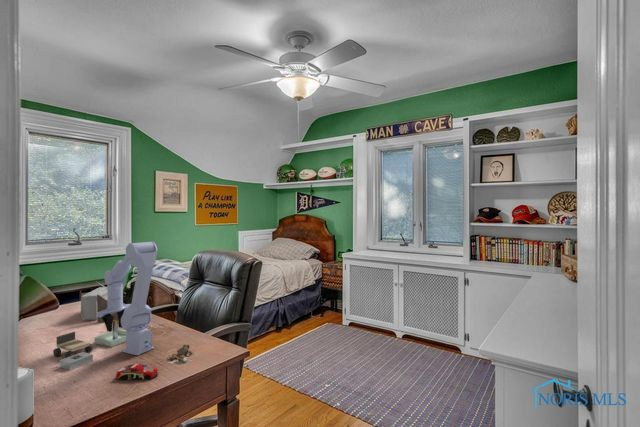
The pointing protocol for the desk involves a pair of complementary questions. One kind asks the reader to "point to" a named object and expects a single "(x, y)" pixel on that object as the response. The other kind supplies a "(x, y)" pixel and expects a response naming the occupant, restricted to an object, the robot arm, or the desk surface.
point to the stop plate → (76, 360)
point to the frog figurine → (181, 355)
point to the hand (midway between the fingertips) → (115, 329)
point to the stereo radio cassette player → (91, 303)
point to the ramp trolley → (70, 345)
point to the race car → (136, 372)
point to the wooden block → (103, 308)
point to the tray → (111, 338)
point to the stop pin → (115, 329)
